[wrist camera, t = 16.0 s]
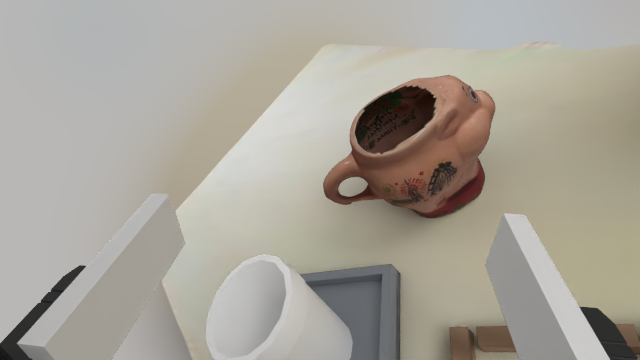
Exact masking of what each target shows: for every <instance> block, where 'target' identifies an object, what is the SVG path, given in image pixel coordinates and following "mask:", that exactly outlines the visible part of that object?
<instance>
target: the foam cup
mask: <svg viewBox="0 0 640 360" xmlns="http://www.w3.org/2000/svg"><path fill="white" fill-rule="evenodd" d="M205 340H206V342H207V345H208V348H209V350H210V353H211V356H212V358H213V359H215V360H350V358H351V352H352V345H353V341H352V337H351V333H350V329H349V328H348V327H347V326H346V325H345V323H344V322H343V321H342V320H341V319H340V318H339V317H338V316H337V315H336V314H335V313H334V312H333V311H332V310H331V309H330V307H329V306H328V305H327V304H326V303H325V302H324V301H323V300H322V299H321V298H320V297H319V296H318V295H317V294H316V293H315V292H314V291H313V290H312V289H311V288H310V287H309V286H308V285H307V284H306V283H305V280H304V279H303V278H302V277H301V276H300V275H299V273H298V272H297V271H296V270H295V269H294V268H293V267H292V266H291V265H289V264H288V263H286V262H285V261H284V260H282V259H281V258H279V257H276V256H272V255H267V254H261V255H258V256H255V257H252V258H250V259H247V260H245V261H244V262H243V263H241V264H240V265H239V266H238V267H237V268H235V269H234V270H233V271H232V272H231V273H230V274H229V275H228V276H227V278H226V279H225V281H224V282H223V283H222V285H221V286H220V288H219V289H218V291H217V292H216V294H215V296H214V299H213V302H212V304H211V307H210V310H209V312H208V315H207V324H206V339H205Z"/></svg>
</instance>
